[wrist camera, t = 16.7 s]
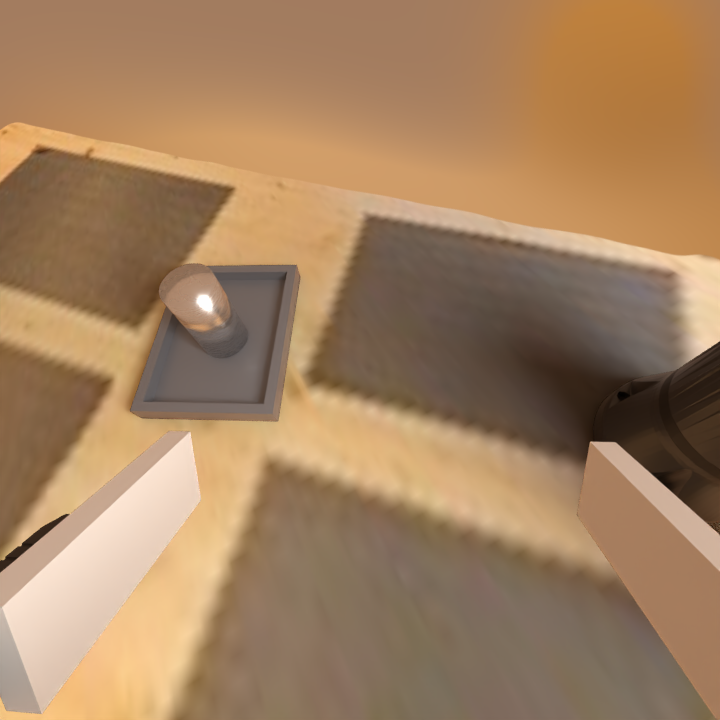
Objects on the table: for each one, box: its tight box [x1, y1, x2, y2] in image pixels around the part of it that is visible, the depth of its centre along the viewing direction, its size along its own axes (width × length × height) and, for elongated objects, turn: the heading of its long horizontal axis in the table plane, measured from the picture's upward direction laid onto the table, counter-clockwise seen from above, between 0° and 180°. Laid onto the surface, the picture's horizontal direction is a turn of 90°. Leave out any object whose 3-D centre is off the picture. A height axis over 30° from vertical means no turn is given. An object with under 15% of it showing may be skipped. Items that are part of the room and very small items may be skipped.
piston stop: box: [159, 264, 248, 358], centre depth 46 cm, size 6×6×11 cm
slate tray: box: [130, 265, 300, 421], centre depth 50 cm, size 17×22×2 cm
